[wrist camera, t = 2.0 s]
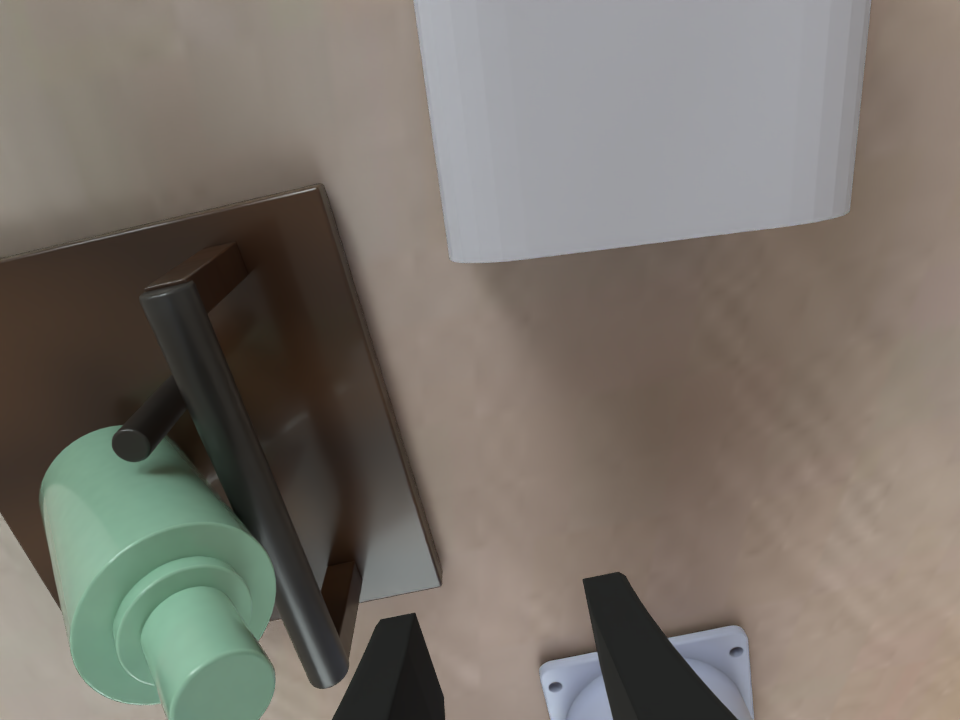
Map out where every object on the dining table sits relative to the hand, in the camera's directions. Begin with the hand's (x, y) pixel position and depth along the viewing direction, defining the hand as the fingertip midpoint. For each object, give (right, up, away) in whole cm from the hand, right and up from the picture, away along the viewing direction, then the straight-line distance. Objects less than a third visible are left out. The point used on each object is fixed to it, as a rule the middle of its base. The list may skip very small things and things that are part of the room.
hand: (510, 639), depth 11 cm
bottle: (-10, +2, +9) cm, 14 cm away
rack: (-10, +2, +10) cm, 14 cm away
